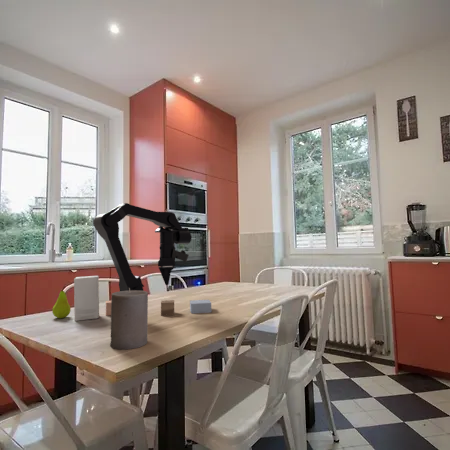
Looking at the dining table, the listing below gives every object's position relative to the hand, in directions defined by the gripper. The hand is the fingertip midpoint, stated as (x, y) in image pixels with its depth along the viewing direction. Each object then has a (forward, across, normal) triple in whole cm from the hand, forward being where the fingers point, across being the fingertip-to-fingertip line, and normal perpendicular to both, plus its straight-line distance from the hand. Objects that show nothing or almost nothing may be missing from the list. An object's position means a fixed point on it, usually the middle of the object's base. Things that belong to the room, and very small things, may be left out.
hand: (167, 283), depth 121 cm
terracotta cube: (+12, +6, +22) cm, 26 cm away
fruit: (+12, +3, +40) cm, 42 cm away
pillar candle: (+12, -36, +9) cm, 39 cm away
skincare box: (+12, 0, +30) cm, 32 cm away
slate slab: (+12, +3, -13) cm, 18 cm away
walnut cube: (+12, 0, 0) cm, 12 cm away
